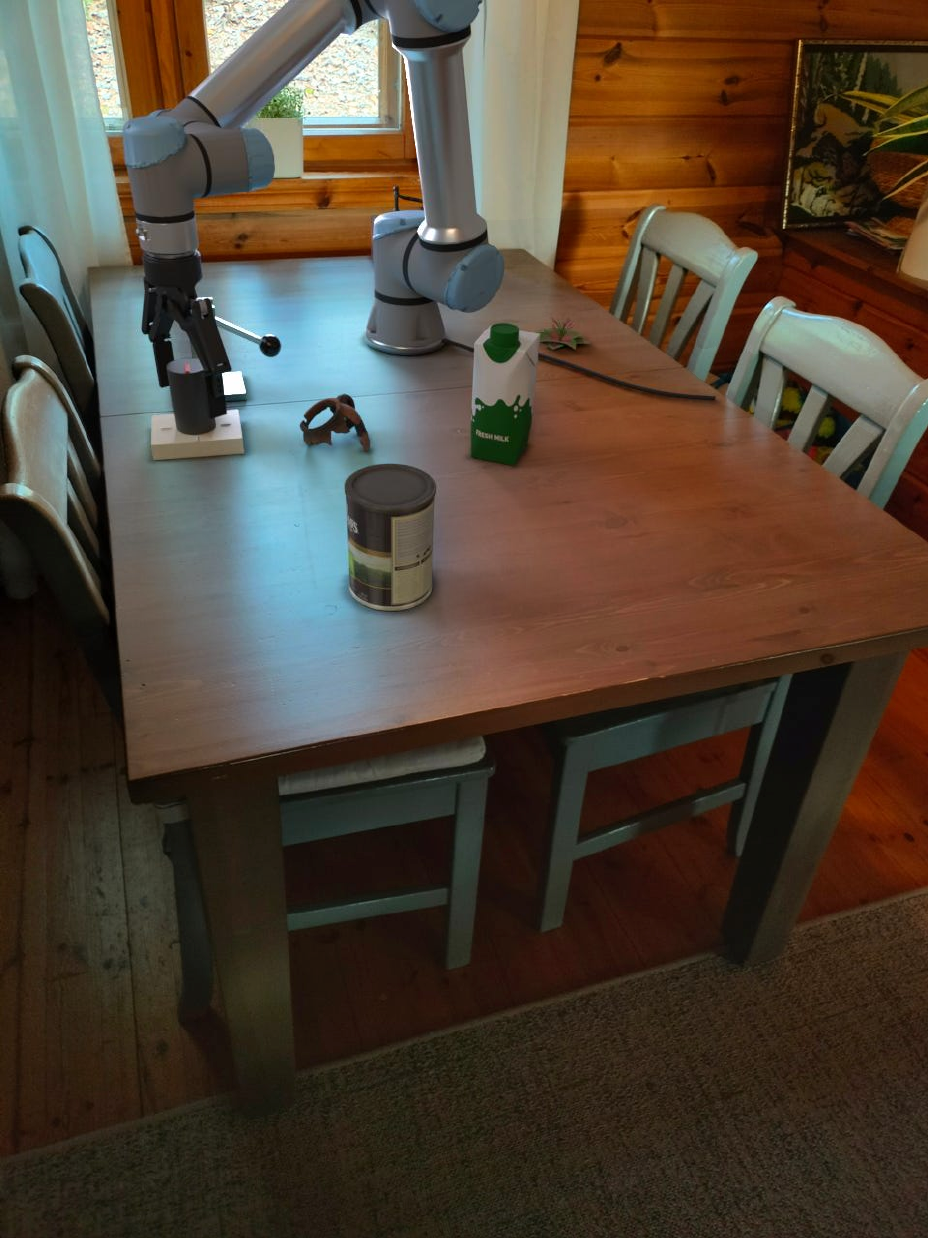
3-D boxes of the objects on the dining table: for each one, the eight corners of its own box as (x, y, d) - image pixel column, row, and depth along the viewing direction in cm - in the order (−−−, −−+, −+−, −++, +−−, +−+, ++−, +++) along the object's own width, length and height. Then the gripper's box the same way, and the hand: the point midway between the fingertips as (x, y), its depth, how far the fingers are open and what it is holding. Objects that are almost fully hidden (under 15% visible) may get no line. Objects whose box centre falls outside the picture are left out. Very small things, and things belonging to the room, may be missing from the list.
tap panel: (240, 424, 144) (238, 408, 142) (244, 453, 136) (242, 437, 134) (154, 430, 141) (151, 414, 139) (153, 460, 133) (150, 443, 131)
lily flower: (602, 348, 176) (605, 325, 173) (548, 356, 171) (551, 332, 169) (569, 327, 184) (572, 304, 181) (518, 334, 180) (519, 311, 177)
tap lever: (274, 355, 154) (283, 336, 152) (277, 363, 151) (286, 344, 150) (187, 316, 146) (195, 296, 145) (188, 324, 143) (197, 303, 142)
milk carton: (463, 458, 138) (469, 328, 125) (481, 434, 144) (489, 308, 132) (518, 470, 136) (530, 338, 123) (534, 444, 142) (547, 317, 130)
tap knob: (176, 419, 138) (166, 356, 132) (215, 416, 140) (207, 354, 134) (176, 436, 134) (166, 372, 128) (216, 433, 135) (208, 370, 129)
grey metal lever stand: (241, 378, 157) (231, 291, 148) (246, 399, 151) (237, 310, 142) (175, 382, 155) (161, 295, 146) (177, 405, 148) (163, 314, 139)
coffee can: (347, 613, 106) (343, 508, 98) (349, 563, 114) (345, 462, 106) (435, 611, 107) (439, 508, 99) (431, 562, 115) (433, 462, 107)
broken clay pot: (370, 464, 136) (341, 424, 130) (317, 481, 140) (287, 443, 134) (381, 411, 143) (354, 371, 138) (331, 429, 147) (302, 390, 141)
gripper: (99, 232, 126) (127, 378, 139) (194, 279, 112) (216, 437, 125) (149, 224, 130) (171, 367, 143) (247, 268, 116) (262, 421, 129)
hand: (192, 399), depth 134 cm, fingers open, 13 cm apart
